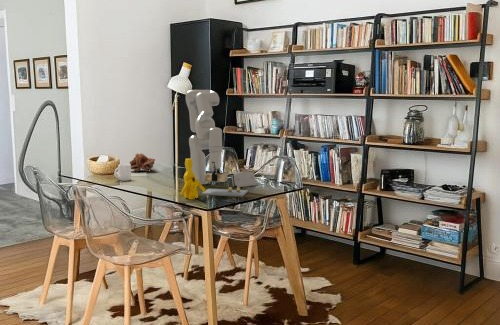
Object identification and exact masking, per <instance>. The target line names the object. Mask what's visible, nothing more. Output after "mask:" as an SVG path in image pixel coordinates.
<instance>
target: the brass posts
mask: <svg viewBox="0 0 500 325" xmlns="http://www.w3.org/2000/svg"><path fill="white" fill-rule="evenodd" d="M227 189H228V192H232V190H233V186H232V187H231V186H228V188H227ZM236 190H237V192H240V190H241V187H237V186H236Z"/></svg>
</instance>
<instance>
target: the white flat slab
mask: <svg viewBox="0 0 500 325" xmlns="http://www.w3.org/2000/svg"><path fill="white" fill-rule="evenodd" d="M205 190H206V191H205V192H203V191H202V192H201V195H202V196H222V197H223V196H225V197H244V196H245V195H246V194H247V193H249V192H248V191H249V190H247V189H240V192H237V189H232V192H228V188H227V189H226V188H225V189H224V188H207V189H205Z"/></svg>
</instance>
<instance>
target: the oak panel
mask: <svg viewBox="0 0 500 325" xmlns="http://www.w3.org/2000/svg"><path fill="white" fill-rule="evenodd" d="M205 181H208V182H214V183H216V182H217V183H220V182H221V183H225V182H227V181H229V180H228V173H221V172H220V173H217V181H212V172H211V173H210V172H208V173H206V174H205Z"/></svg>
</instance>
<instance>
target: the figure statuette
mask: <svg viewBox="0 0 500 325" xmlns="http://www.w3.org/2000/svg"><path fill="white" fill-rule="evenodd" d="M192 166H193V162H192V159H191V158H185V161H184V167H185V172H184V175H183V182H184V185H183V188H182V189H181V192H180V194H179V196H182V195H183V197H184V198H186V199H187V200H195V198H196V199H198V198H199V191H198V188H199V189H201V191H202V192H205V191H206V190H207V189H206V188H205V187H204V185H201V184H200V182H199V181H198V179H195V174H194V173H193V172H192Z"/></svg>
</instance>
